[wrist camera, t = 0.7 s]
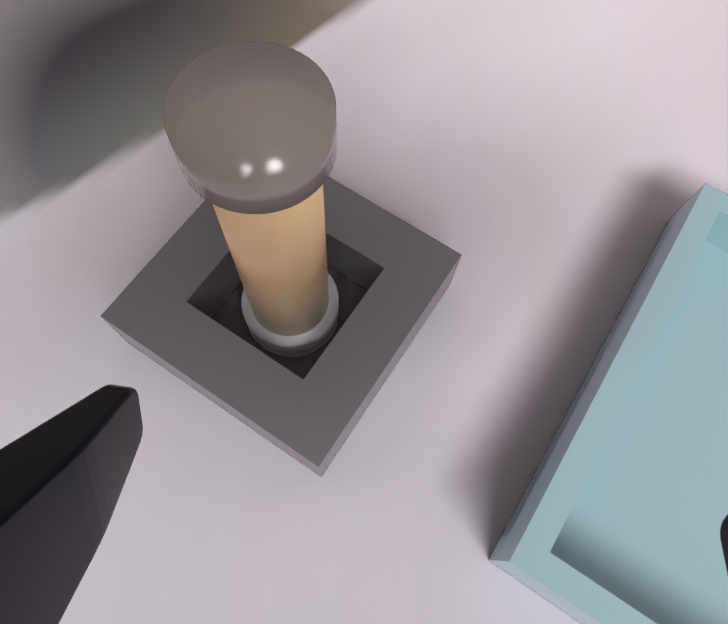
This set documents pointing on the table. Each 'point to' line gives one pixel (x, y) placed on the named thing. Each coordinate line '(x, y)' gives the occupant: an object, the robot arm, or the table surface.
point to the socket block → (257, 370)
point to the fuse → (264, 180)
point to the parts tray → (642, 450)
